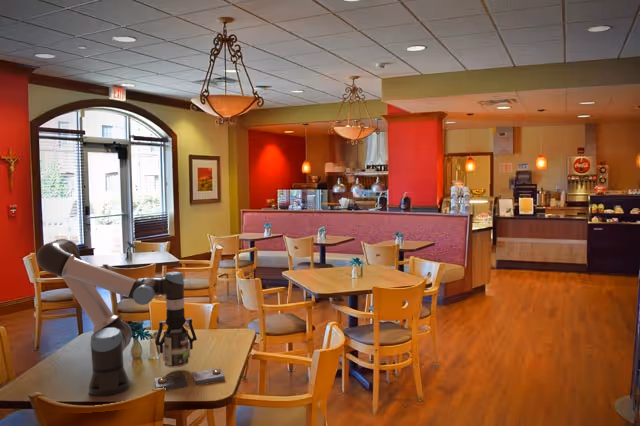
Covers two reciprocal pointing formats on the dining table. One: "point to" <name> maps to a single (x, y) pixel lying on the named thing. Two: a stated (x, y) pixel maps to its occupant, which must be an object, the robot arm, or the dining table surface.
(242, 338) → the dining table surface
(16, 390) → the dining table surface
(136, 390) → the dining table surface
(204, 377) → the right end plate
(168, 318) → the robot arm
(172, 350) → the coffee can
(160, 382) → the left end plate
